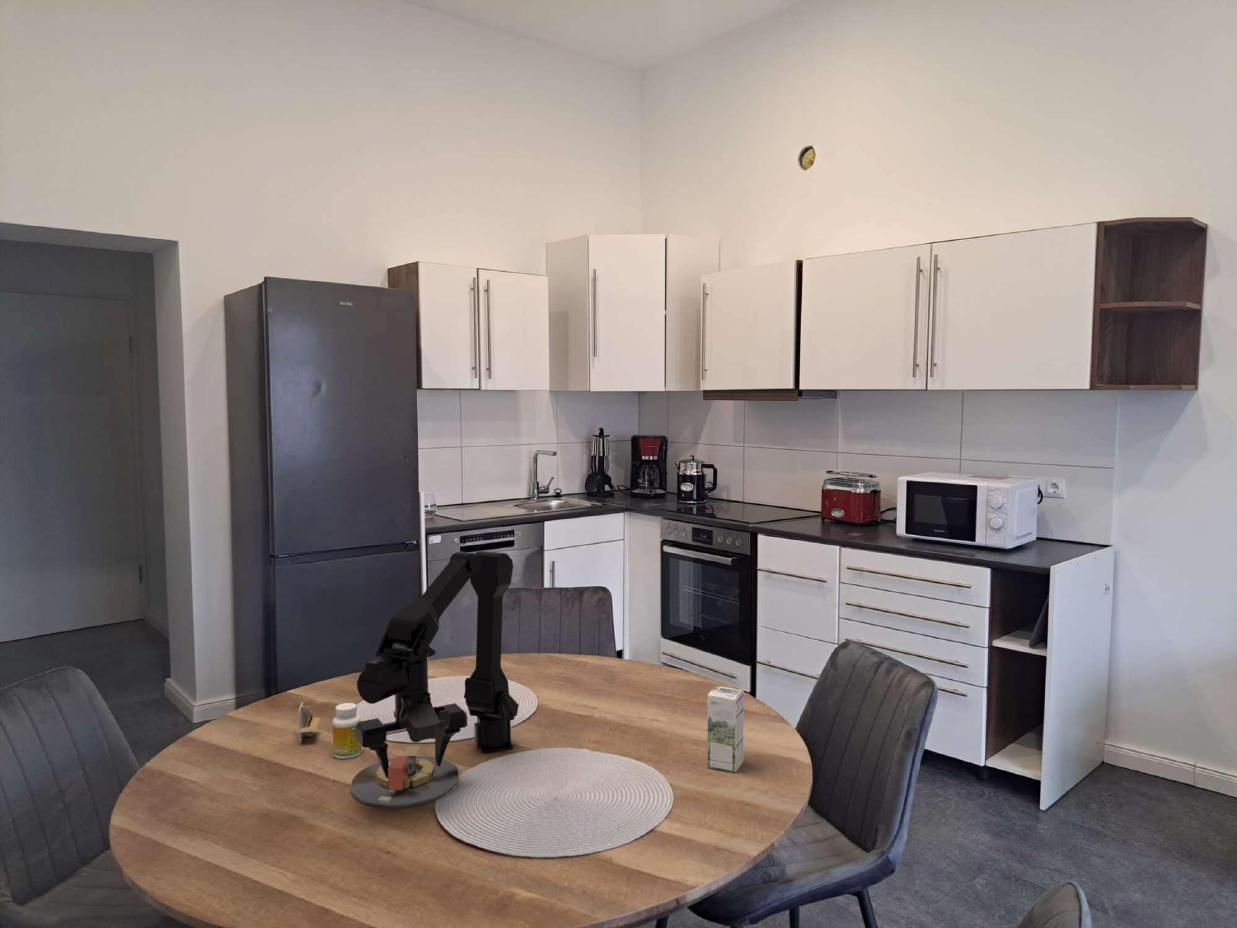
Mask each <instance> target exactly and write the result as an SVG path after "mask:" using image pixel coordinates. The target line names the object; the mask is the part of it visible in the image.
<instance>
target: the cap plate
mask: <svg viewBox="0 0 1237 928" xmlns="http://www.w3.org/2000/svg"><path fill="white" fill-rule="evenodd" d="M418 758H420V759H423V758H424V759H426V760H428V761H430V762H432V763H434V765H435V772H434V775H433V777H432V779H429V781H428V782H426V783H423V784H420V785H418V786H415V787H412V786H410V788H403V790H389V788H386V787H384V786H382V785H381V784H379V783H377V782H376V773H377V771H378V769H379V767H380V766H381V764H380V762H379V761H377V762H376V763H373V764H371V765H368V766H367V767H364V768H363V769H362V770H360V771H359V772H358V773H356V775H355V776H354V777H353V779H352V781H351V786H350V788H351V795H352V797H353V798H354V800H356V801H357V802H359V803H360V804H362V805H365V806H368V807H372V808H378V809H386V810H387V809H390V810H391V809H392V810H393V809H394V810H395V809H407V808H414V807H419V806H422V805H425V804H430V803H433V802H435V801H437V799H438V800H440V799H442V798H444V797H445V796H444V795H446V794H447V793H449V792H450V791H451V790H452V791H454V789H455V788H456V787H457V786H456V785H458V783H459V781H458V780H459V769H458V768H457V766H456V765H455V764H454V763H453V762H451V761H449V760H447V759H444V758H443V759H442V762H441V765H440V766H437V765H436V759H435V756H429V755H419V756H418ZM392 760H393V758H388V762H391V761H392ZM420 772H421V771H419V770H417V769H416V762H415V760H414V759H409V758H408V776H412V775H414V774H417V773H420ZM455 786H456V787H455ZM454 787H455V788H454ZM453 788H454V789H453ZM452 791H451V792H452ZM451 792H450V793H451ZM450 793H449V794H450ZM447 795H448V794H447ZM447 795H446V796H447ZM443 796H444V797H443ZM441 797H442V798H441ZM439 798H440V799H439Z"/></svg>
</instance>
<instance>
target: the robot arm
mask: <svg viewBox="0 0 1237 928" xmlns="http://www.w3.org/2000/svg"><path fill="white" fill-rule="evenodd" d="M513 571H514V564H513V559H512V558H511V556H509V554H508V553H505V552H495V551H486V550H484V551H483V550H478V551H476V552H466V551H456V552H454V553H453V554H452V555H451V556H450V558H449V562H448V563H447V564H446V566H445V567H444V568H443V569H442V571H441V572H440V573H439V574H438V575H437V577H436V578H435V579H434V580H433V581H432V582H431V584H430V585H429V586H428V588H427V589H426V590H425V591H424V593H422V595H421V596H420V597H419V598H418V599H417V600H416V601H414V602H412V603H410V604H407V605H406V606H404V607H402V608H401V609H400V610H399V611H397V613H395V614H394V615H393V616H392V617H391V618H390V620H389V622H388V623H387V627H386V630H385V631H384V634H383V636H382V639H381V641H380V643H379V646H378V648H377V651H376V653H375V656H376V658H378V659H376V660H370V661H367V662H366V663H365V669H364V670H363V671H362V672H360V674H359V676H358V679H357V680H356V687H357V691H358V695H359V696H360V698H361V699H362V700H363V701H365V702H366V703H368V704H371V705H374V704H375V705H376V704H378V703H379V702H381V701H383V700H386V699H388V698H390V697H393V696H394V704H395V705H394V709H395V710H394V711H393V717H394V719H395V721H391V722H387V723H382V721H381V720H380V719H379V718H377V717H376V718H371V719H367V720H363V721H362V720H361V722H358V724H357V725H356V727H355V738H356V739H357V740H358V742H359V743H360V744H361V746H362V748H367V749H369V751H374V752H375V755H376V757H377V760H378V762H380V764H381V767H382V769H383V772H384V774H385V777H386V778H388V767H389V763H388V759H389V757H388V749H389V744H388V743H387V742H386V740H387V738H388V737H387V736H389V735H393V734H398V733H403V732H407V734H408V737H409V740H410V741H411V742H413V743H419V742H421V741H426V740H429V739H430V740H434V748H435V749H434V757H435V759H436V765H437V766H440V765H441V762H442V759H444V756H445V752H446V750H447V747H448V745H449V742H450V741H451V738H452V737H454V735H455V734H457V733H460V732H461V729H463V728H464V729H465V728H467V726H468V714H467V712H466V711H465V710H464V709H462V708H461V706H459V705H458V704H456V702H455V703H454V702H453V703H450V704H445V705H440V706H433V703H432V700H431V699H432V698H431V692H429V674H428V673H429V668H428V667H429V666H428V665H429V663H428V662H429V661H428V660H429V659H428V658H430V657H432V656H435V654H436V650H434V649H433V648H431V647H430V645H431V643H432V642H433V640H434V638H435V637H436V634H437V633H438V631H439V629H440V618H441V616H442V614H444V612H445V610H447V608H448V607H449V606H450V605H451V603H452V602H453V601H454V599H455V598H456V597H457V596H458V594H459V592H460V591H461V590H462V589H463V588H464V587H465V586H466V584H467V583H468V581H470V582H469V583H470V584H471V587H472V588H473V590H474V592H475V594H476V597H477V605H476V606H477V610H476V613H477V615H476V617H477V618H476V643H475V644H476V647H475V650H476V651H475V668H474V670H473V671H472V673H471V675H470V677H466V678H465V680H464V695H463V699H465V704H466V707H467V709H468V713H469V715H470V716H471V717H476V722H475V723H474V726H473V729H474V743H475V746H476V747H477V748H478V749H479V751H480V752H481V753H483V754H485V753H489V752H490V753H492V752H496V751H503V750H504V751H505V750H509V749H510V750H511V749H514V745H513V743H512V738H511V736H512V732H511V731H512V730H511V729H512V728H511V724H512V723H511V721H513V720H515V717H516V716H517V715H518V711H519V704H518V702H517V701H516V700H515V699H514V698H513V696H511V694H510V689H509V688H510V687H509V681H508V679H507V677H506V674H505V673H504V671H503V669H502V666H501V665H502V636H503V635H502V632H503V604H504V603H503V600H504V595H505V593H506V592H507V590H508V588H509V587H510V586H511V583H512V579H513V578H512V577H513ZM395 647H398V648H395ZM399 648H400V649H399ZM401 648H404V649H401ZM406 649H408V650H406Z"/></svg>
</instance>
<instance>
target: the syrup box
mask: <svg viewBox="0 0 1237 928" xmlns="http://www.w3.org/2000/svg"><path fill="white" fill-rule="evenodd" d="M706 698H707V702H706V703H707V726H706V727H707V728H706V729H707V735H706V737H707V744H706V745H707V751H706V752H707V763H706V764H707V765H706V766H707V768H709V769H715V770H719V771H720V770H721V771H726V772H731V773H736V772H737V771H738V770H739V769H740V767H741V766H742V764H743V763H744V758H745V757H744V756H745V755H744V719H745V718H744V717H745V716H744V714H745V713H744V712H745V711H744V709H745V703H744V702H745V692H744V689H739V688H731V687H726V686H718V685H716V686H715V687H713V688H712V689H711V690H710V691H709V693H708V694H707V697H706Z"/></svg>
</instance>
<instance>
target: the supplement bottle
mask: <svg viewBox="0 0 1237 928" xmlns="http://www.w3.org/2000/svg"><path fill="white" fill-rule="evenodd" d="M357 711H358V706H357V704H355V702H354V703H352V702H345V703H340V704H338V705H336V706H335V715H336V716H335V717H334V718H333V719H332V723H331V725H332V726H331V727H332V751H333V756H334V757H335V758H336V759H340V760H346V759H347V760H348V759H352V758H357V757H358V756H359V755H361V753H362V749H363V747H362V746H361V744H360V743H359V742H358V740H357V739H356V738H355V727H356V725H357V724H358V722H361V721H362V719H361V716H360V715H359V714H358V712H357Z"/></svg>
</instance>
